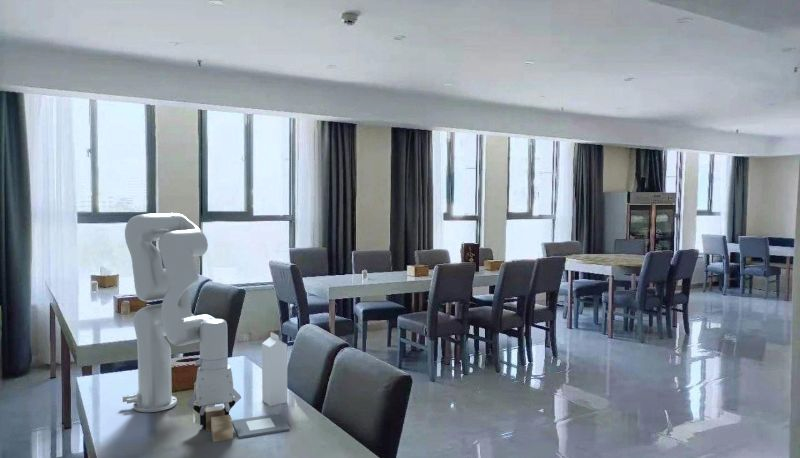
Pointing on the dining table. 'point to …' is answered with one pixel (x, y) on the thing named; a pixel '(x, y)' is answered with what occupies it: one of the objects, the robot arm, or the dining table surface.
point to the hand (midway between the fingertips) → (214, 424)
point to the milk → (274, 371)
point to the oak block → (221, 428)
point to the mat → (260, 425)
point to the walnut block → (213, 415)
